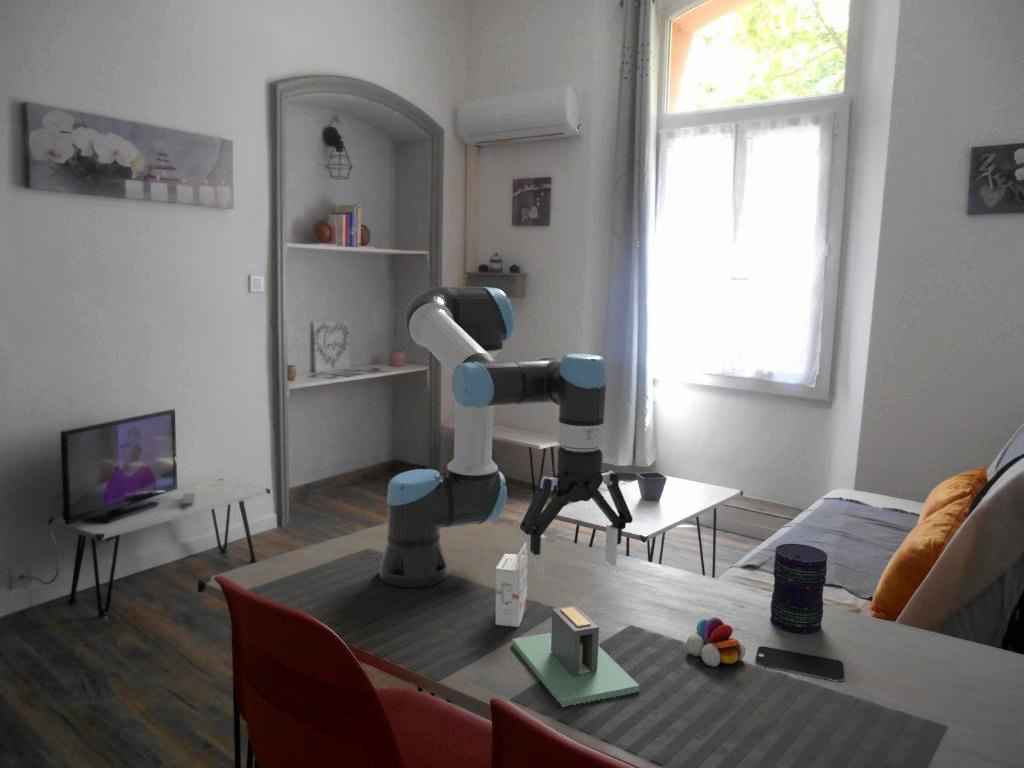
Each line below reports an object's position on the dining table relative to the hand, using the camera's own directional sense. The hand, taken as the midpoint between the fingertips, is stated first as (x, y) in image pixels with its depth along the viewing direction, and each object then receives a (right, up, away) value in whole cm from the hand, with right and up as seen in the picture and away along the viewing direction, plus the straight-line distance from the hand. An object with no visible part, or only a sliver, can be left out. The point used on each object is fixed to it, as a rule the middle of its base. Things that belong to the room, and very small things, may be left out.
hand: (575, 567), depth 135 cm
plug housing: (0, -17, +2) cm, 17 cm away
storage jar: (+46, -17, +22) cm, 53 cm away
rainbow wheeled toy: (+26, -18, +8) cm, 33 cm away
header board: (0, -18, +3) cm, 18 cm away
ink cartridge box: (-11, -15, +22) cm, 29 cm away
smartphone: (+41, -19, +6) cm, 45 cm away
